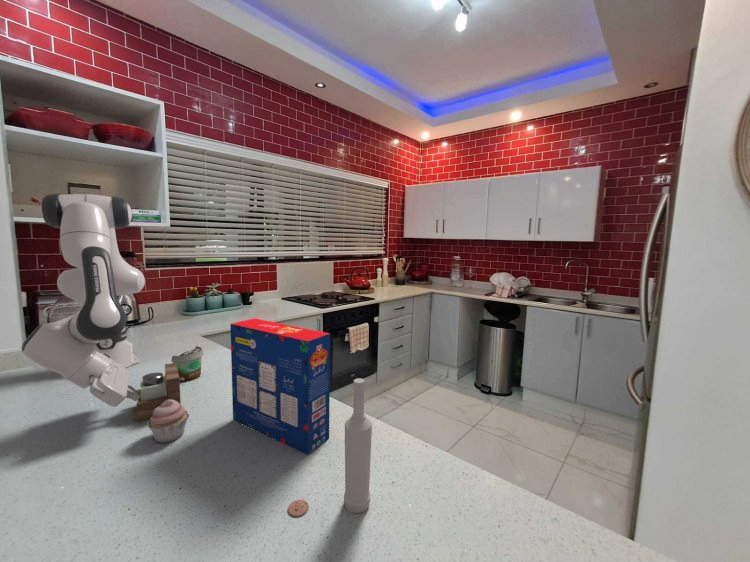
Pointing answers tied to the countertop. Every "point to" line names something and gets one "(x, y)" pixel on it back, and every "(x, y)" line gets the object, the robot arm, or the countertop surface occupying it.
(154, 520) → the countertop surface
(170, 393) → the walnut mount
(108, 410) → the countertop surface
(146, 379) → the sliding knob
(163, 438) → the cupcake
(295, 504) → the cookie
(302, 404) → the pasta box
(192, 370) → the food container
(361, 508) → the bottle
